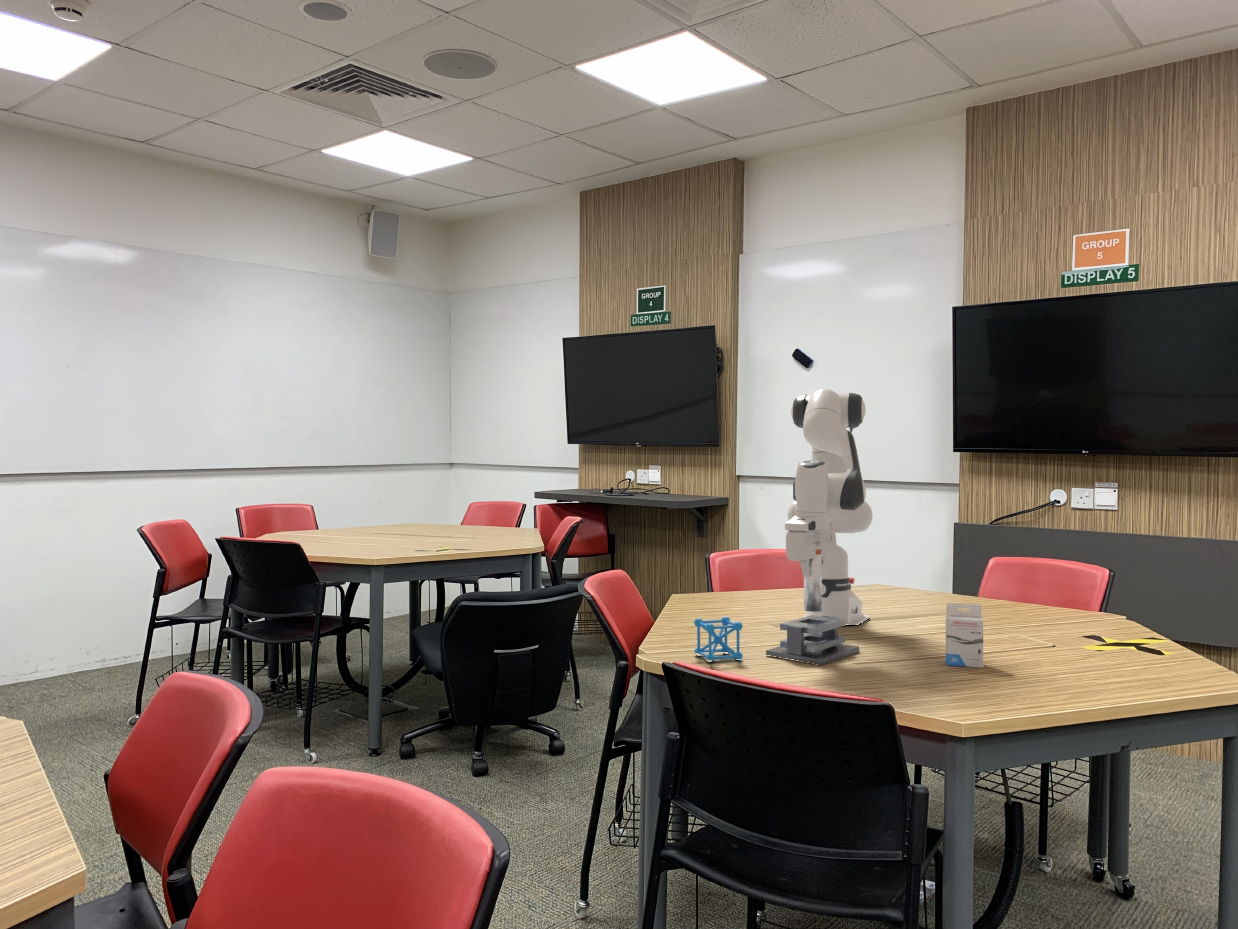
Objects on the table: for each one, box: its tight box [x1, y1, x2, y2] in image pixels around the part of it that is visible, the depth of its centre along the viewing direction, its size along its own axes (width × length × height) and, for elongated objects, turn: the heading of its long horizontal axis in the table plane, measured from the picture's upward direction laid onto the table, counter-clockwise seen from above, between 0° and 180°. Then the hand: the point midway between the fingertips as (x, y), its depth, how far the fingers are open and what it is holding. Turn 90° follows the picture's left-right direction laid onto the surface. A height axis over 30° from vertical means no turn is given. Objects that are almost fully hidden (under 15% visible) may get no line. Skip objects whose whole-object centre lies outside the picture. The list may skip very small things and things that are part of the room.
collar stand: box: [765, 615, 860, 666], centre depth 224 cm, size 20×16×8 cm
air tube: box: [803, 541, 822, 612], centre depth 224 cm, size 5×5×18 cm
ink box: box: [945, 602, 984, 669], centre depth 212 cm, size 9×5×15 cm, turn 71°
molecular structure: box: [693, 616, 744, 661], centre depth 221 cm, size 10×10×10 cm
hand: (812, 575), depth 224 cm, fingers closed on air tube, 4 cm apart
